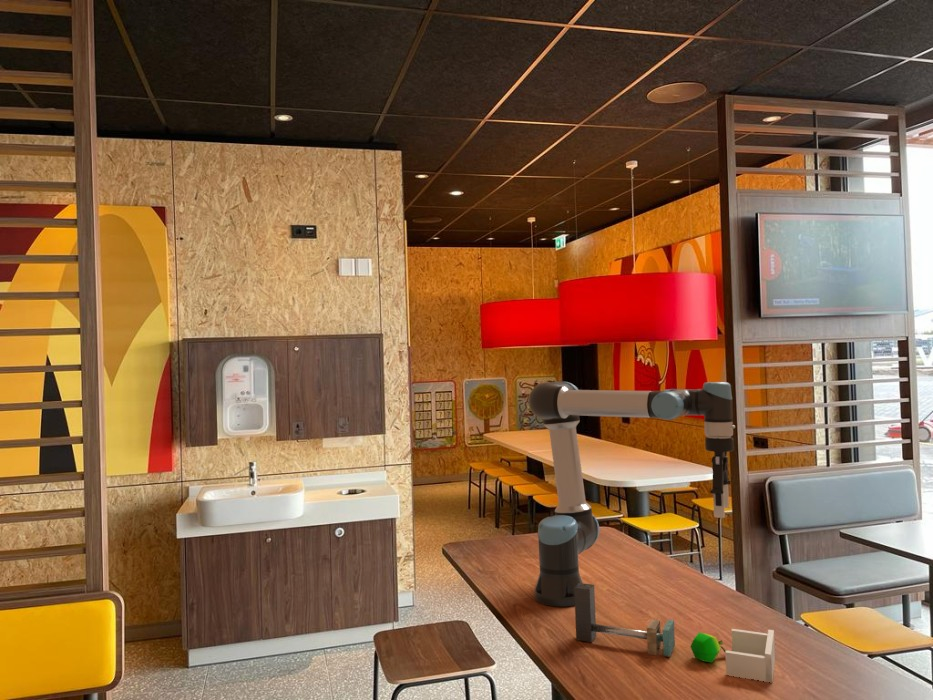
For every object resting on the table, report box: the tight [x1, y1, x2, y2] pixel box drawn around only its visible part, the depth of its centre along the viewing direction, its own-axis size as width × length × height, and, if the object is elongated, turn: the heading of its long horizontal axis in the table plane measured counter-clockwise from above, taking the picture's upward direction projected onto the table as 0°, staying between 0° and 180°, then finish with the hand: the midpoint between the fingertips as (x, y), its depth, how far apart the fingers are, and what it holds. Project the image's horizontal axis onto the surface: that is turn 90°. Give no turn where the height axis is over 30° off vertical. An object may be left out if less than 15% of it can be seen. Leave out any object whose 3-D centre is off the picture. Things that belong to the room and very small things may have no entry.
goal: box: [724, 628, 776, 684], centre depth 150 cm, size 9×14×6 cm, turn 153°
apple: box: [689, 632, 726, 663], centre depth 154 cm, size 7×6×9 cm
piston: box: [574, 582, 676, 658], centre depth 164 cm, size 23×7×13 cm, turn 63°
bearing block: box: [646, 619, 662, 656], centre depth 160 cm, size 2×6×6 cm, turn 153°
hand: (721, 512), depth 187 cm, fingers open, 13 cm apart
